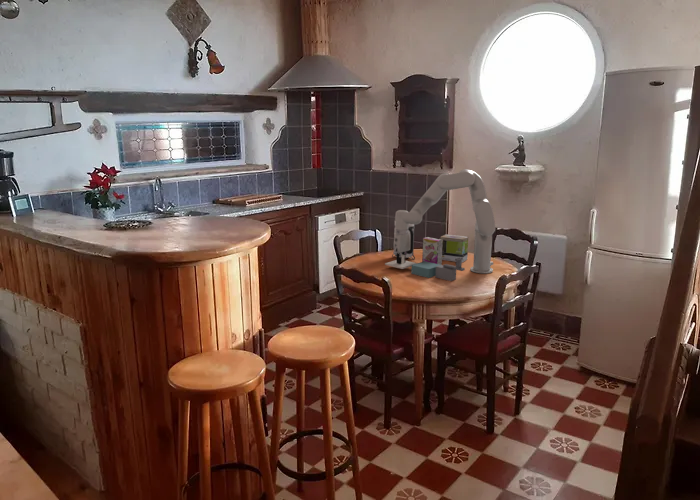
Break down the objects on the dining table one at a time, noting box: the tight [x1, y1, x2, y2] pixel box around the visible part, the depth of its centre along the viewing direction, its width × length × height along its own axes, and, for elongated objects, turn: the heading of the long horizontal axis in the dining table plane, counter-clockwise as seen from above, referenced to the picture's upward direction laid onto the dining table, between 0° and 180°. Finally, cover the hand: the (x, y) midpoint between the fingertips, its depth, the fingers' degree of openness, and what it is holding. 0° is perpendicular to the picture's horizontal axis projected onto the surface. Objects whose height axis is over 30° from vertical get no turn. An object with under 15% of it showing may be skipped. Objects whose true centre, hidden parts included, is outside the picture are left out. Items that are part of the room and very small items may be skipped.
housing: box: [410, 261, 457, 282], centre depth 304 cm, size 12×24×6 cm, turn 46°
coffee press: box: [391, 218, 416, 260], centre depth 338 cm, size 17×16×30 cm
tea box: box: [439, 234, 469, 263], centre depth 337 cm, size 15×10×15 cm
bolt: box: [442, 257, 466, 272], centre depth 294 cm, size 5×12×6 cm, turn 46°
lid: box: [384, 254, 418, 270], centre depth 317 cm, size 13×13×6 cm
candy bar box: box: [421, 236, 443, 265], centre depth 323 cm, size 11×5×16 cm, turn 47°
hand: (400, 262), depth 318 cm, fingers closed on lid, 3 cm apart
